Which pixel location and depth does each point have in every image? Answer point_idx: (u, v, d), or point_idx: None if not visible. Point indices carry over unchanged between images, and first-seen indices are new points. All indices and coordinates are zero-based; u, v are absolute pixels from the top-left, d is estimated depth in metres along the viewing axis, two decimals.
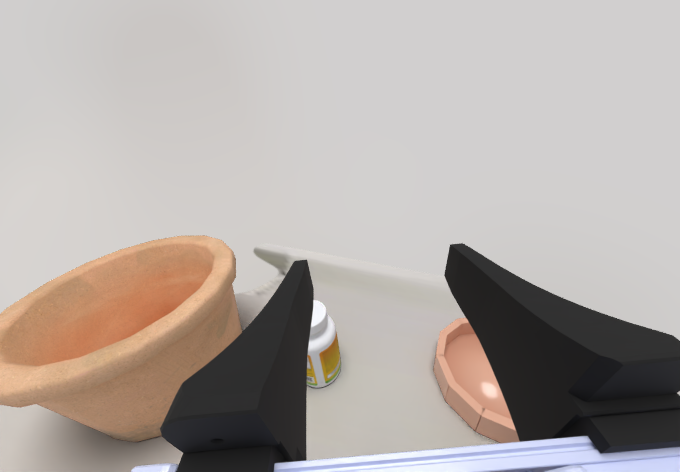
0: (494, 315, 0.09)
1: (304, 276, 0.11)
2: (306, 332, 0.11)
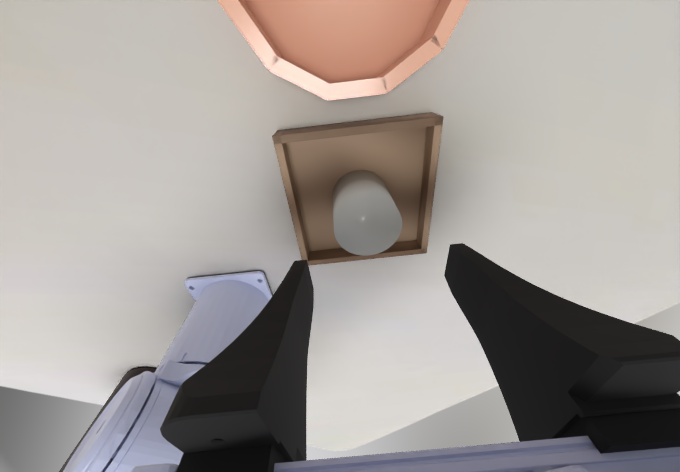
0: (494, 315, 0.09)
1: (304, 276, 0.11)
2: (306, 332, 0.11)
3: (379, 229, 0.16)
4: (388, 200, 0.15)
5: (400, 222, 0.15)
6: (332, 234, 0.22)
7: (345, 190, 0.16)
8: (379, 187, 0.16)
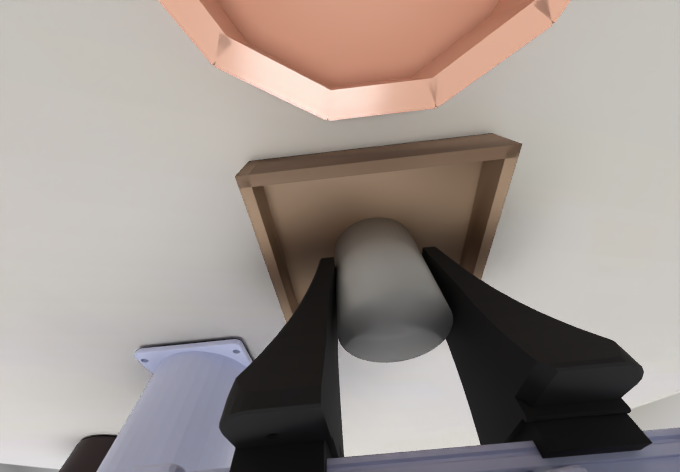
0: (458, 319, 0.09)
1: (333, 273, 0.11)
2: (336, 329, 0.11)
3: (413, 332, 0.09)
4: (433, 292, 0.08)
5: (450, 322, 0.09)
6: None
7: (355, 261, 0.10)
8: (412, 258, 0.10)
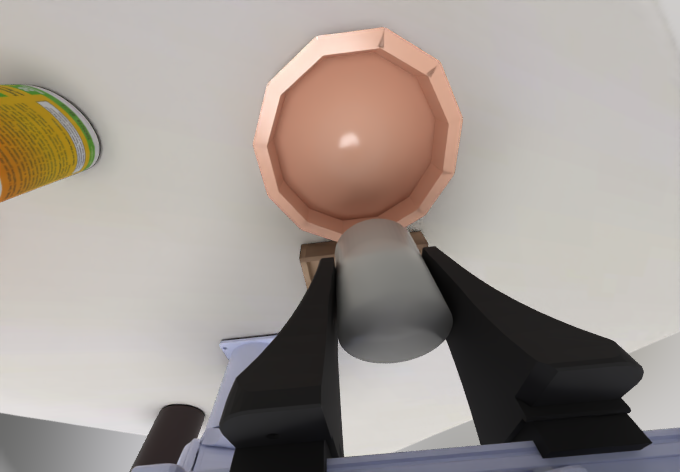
0: (458, 319, 0.09)
1: (333, 273, 0.11)
2: (336, 329, 0.11)
3: (413, 333, 0.09)
4: (432, 294, 0.08)
5: (449, 324, 0.09)
6: None
7: (355, 262, 0.10)
8: (412, 259, 0.10)
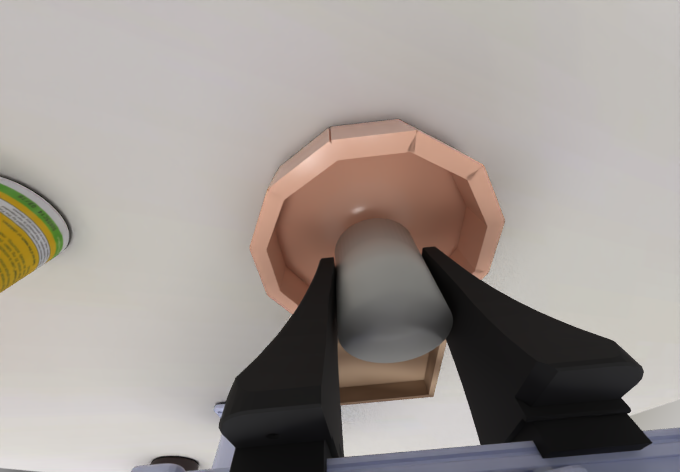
0: (458, 319, 0.09)
1: (333, 273, 0.11)
2: (336, 329, 0.11)
3: (413, 332, 0.09)
4: (433, 293, 0.08)
5: (450, 323, 0.09)
6: (349, 379, 0.24)
7: (355, 262, 0.10)
8: (412, 259, 0.10)
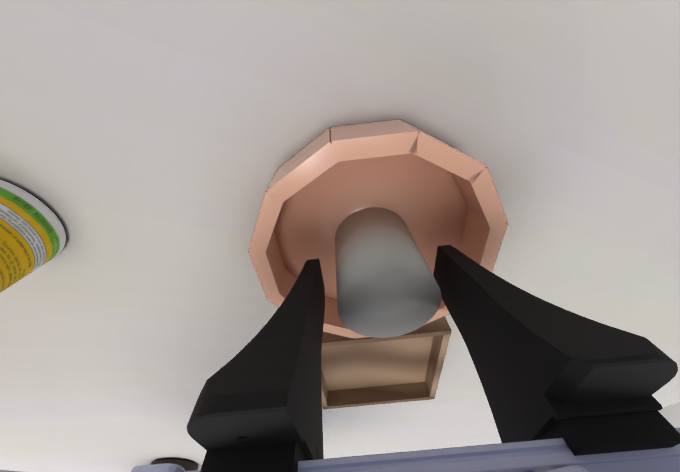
0: (478, 317, 0.09)
1: (317, 275, 0.11)
2: (320, 331, 0.11)
3: (405, 307, 0.10)
4: (422, 270, 0.09)
5: (438, 298, 0.10)
6: (349, 381, 0.24)
7: (353, 245, 0.11)
8: (405, 242, 0.11)
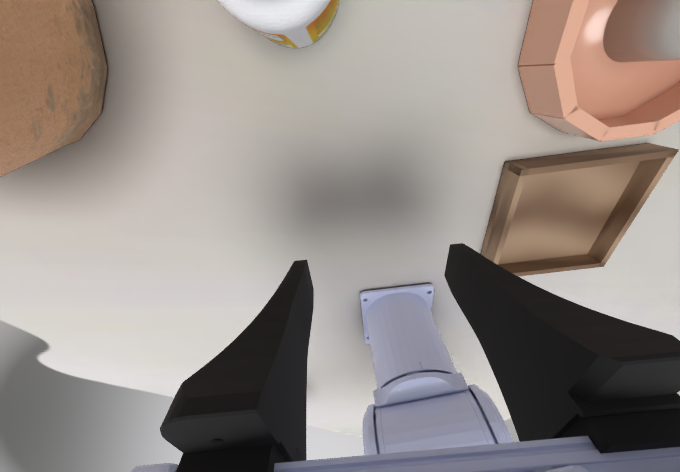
0: (494, 315, 0.09)
1: (304, 276, 0.11)
2: (306, 332, 0.11)
3: None
4: None
5: None
6: (514, 250, 0.24)
7: None
8: None
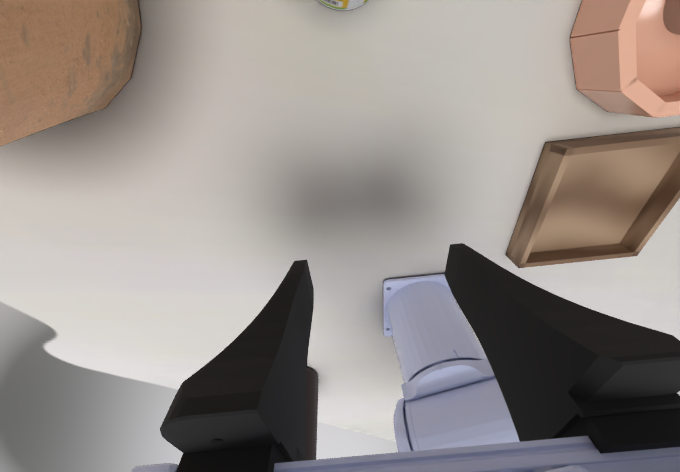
0: (494, 315, 0.09)
1: (304, 276, 0.11)
2: (306, 332, 0.11)
3: None
4: None
5: None
6: (546, 238, 0.23)
7: None
8: None
